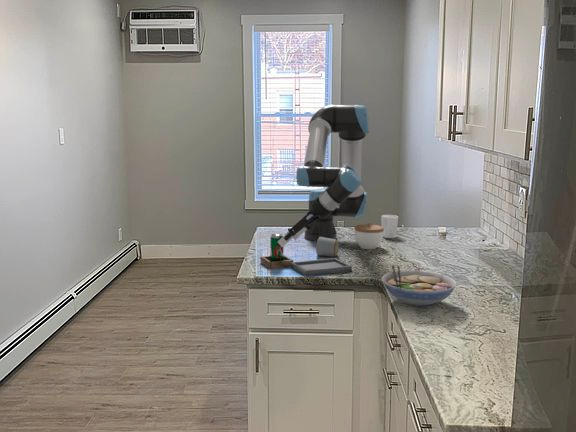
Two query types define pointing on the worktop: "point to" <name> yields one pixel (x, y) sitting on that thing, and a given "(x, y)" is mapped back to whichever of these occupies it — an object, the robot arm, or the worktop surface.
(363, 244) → the lidded bowl
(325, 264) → the grey tray
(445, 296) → the ramen bowl
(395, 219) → the white cup
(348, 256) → the worktop surface
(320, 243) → the ceramic mug
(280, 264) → the walnut collar
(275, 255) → the soda can
